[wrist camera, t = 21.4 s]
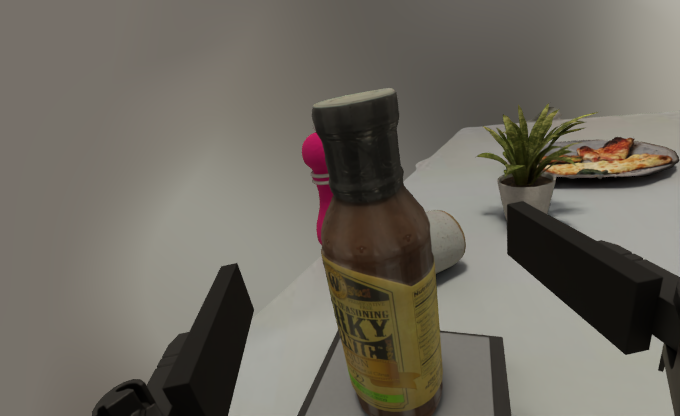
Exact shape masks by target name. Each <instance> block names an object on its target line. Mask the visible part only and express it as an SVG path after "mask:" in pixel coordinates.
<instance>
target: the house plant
mask: <svg viewBox="0 0 680 416" xmlns="http://www.w3.org/2000/svg"><path fill="white" fill-rule="evenodd" d="M548 108H549V107H548V104H547V105H546V107H545V108H544V110H543V111H542V113H541V115H540V117H539V118H538V120H537V121H536V123H535V125H534V126H533V129H532V131H531V133H530V136H529V138H528V129H527V123H526V121H525V118H524V116H523V113H522V109H521V108H520V106H519V105H518V113H519V123H520V128H519V127H518V126H517V125H516V124H515V123H513V122H512V121H511V120H510V119H509V117H508V116H505V115H503V120H504V125H505V129H506V132H502V131H501V130H499V129H498V128H497V130H498V132H499V134H500V136H501V137H502V138H503V139H504V140H503V139H502V138H501V137H500V136H499V135H498V134H497V133H495V132H494V131H493V130H491V129H489V128H486V127H484V126H483V127H484V128H485V129H486V130H488V131H489V132H490V133H491V134H492V136H493V137H494V138H495V140H496V141H497V142H498V143H499V144H500V145H501V146H502V147H503V149H504V150H505V152H503V155H504V157H505V158H506V159H507V160H508V162H509V163H510V164H507V162H506V161H504V160H503V159H502V158H500V157H499V156H496V155H494V154H491V153H482V154H480V155H478V156H477V157H484V158H490V159H494V160H497V161H499V162H501V163H502V164H504V165H505V166H506V169H507V170H504V173H505V175H502V176H501V177H499V178H498V180H497V181H498V186H499V190H500V195H501V200H502V204H503V209H504V213H505V218H506V221H507V204H510V203H515V202H520V201H524V202H526V203H527V204H529V205H531V206H533V207H535V208H537V209H539V210H540V211H542V212H544V213H546V214H547V213H548V209H549V205H550V201H551V197H552V193H553V189H554V185H555V181H556V178H555V176H554V175H552V174H550V173H546V172H545V171H546V170H547V169H549V168H550V167H551V166H553V165H554V164H555V163H557V162H558V161H559V160H562V161H566V162H569V163H572V164H573V165H575V163H574V161H573V160H571V159H573V158H568V157H559V156H561V155H564V154H567V153H571V152H572V151H569V150H568V147H570V146H572V145H574V144H578V143H582V142H578V143H572V144H569V145H567V146H564V147H561V149H560V150H558V151H556V152H554V153H552V154H550V155H549V156H547V157H546V158H545V159H544V160H542V158H543V157H544V156H545V154H546V153H547V152H549V151H551V150H552V149H555V148H560V146H552V145H553V143H554V142H555V141H556V140H557V139H558V138H559V137H560V136H561V135H564V134H567V133H570V132H574V131H578V130H581V129H584V128H580V129H574V130H569V131H567V130H568V129H569V128H571V127H573V126H574V125H577V124H581V123H585V122H584V121H577V120H578V119H581V118H583V117H585V116H588V115H591V114H587V115H584V116H580V117H578V118H575V119H573V120H571V121H569V122H565V123H563V124H564V125H563V124H561V125H563V126H561V125H560V126H561V127H560V128H558V129H557V130H556V131H555V132H554V130H555V129H556V128H557V127H556V128H555V129H553V130H552V131H551V132H550V133H549V134H548V135H547V136H546V138H544V136H545V135H546V133H547V131H548V130H549V128H550V127H551V125H552V120H553V117H554V116H555V115H556V113H557V111H558V110H556V111H554V112H552V113H551V114H549V115H548V116H547V117H546V114H547V111H548ZM592 114H595V113H592ZM573 122H579V123H574V124H571V123H573ZM570 124H571V125H570ZM568 125H569V126H568ZM558 127H559V126H558ZM565 127H566V128H565ZM562 129H563V130H562ZM561 130H562V131H561ZM560 131H561V132H560ZM553 132H554V133H553ZM490 133H489V134H490ZM503 133H506V134H507V139H506V137H505V135H504V134H503ZM552 133H553V134H552ZM551 134H552V135H551ZM543 138H544V139H543ZM552 139H553V140H552ZM550 140H552V142H551V143H550V144H549V146H548V147H547V148H545V149H544V150H542V149H543V147H544V146H545V145H546V144H547V143H548V142H549V141H550ZM505 142H506V143H505ZM565 149H567V150H565ZM541 150H542V151H541ZM540 151H541V152H540ZM574 153H575V152H574ZM576 154H577V153H576ZM541 160H542V161H541ZM552 160H558V161H556V162H554V163H553V164H552V165H550V166H549V167H548V168H547V169H545V170H544V171H543V172H541V171H542V170H543V169H544V168H545V167H546V166H547V165H548V164H549V163H550V162H551V161H552ZM540 161H541V163H540ZM539 163H540V164H539ZM538 164H539V165H538ZM537 166H538V167H537ZM575 166H576V165H575ZM576 168H577V167H576Z"/></svg>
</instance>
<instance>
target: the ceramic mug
mask: <svg viewBox="0 0 680 416" xmlns="http://www.w3.org/2000/svg"><path fill="white" fill-rule="evenodd" d="M425 213H426V214H427V216H428V220H429V222H430V235H431V245H432V247H431V248H432V253H433V255H434V262H435V274H437V273H439V272H441V271H443V270H445V269H447V268H449V267H451V266H453V265H454V264H456V263H457V262H458V261H459V260H460V259H461V258H462V257H463V255H464V253H465V247H466V243H465V237H464V233H463V231H462V229H461V227H460V225H459V223H458V222H457V221H456V220H455V219H454V217H453V216H451V215H450V214H448V213H446V212H444V211H440V210H434V211H427V212H425Z"/></svg>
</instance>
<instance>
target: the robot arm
mask: <svg viewBox="0 0 680 416" xmlns="http://www.w3.org/2000/svg"><path fill="white" fill-rule="evenodd" d="M507 254H508V255H509V256H510V257H512V258H513V259H514V260H515V261H516V262H517V263H519V264H520V265H521V266H522V267H523V268H524V269H526V270H527V271H528V272H529V273H530V274H531V275H533V276H534V277H535V278H536V279H537V280H539V281H540V282H541V283H542V284H543V285H544V286H546V287H547V288H548V289H549V290H550V291H551V292H553V293H554V294H555V295H556V296H557V297H558V298H560V299H561V300H562V301H563V302H564V303H565V304H567V305H568V306H569V307H570V308H571V309H573V310H574V311H575V312H576V313H577V314H578V315H580V316H581V317H582V318H583V319H584V320H585V321H587V322H588V323H589V324H590V325H591V326H592V327H594V328H595V329H596V330H597V331H598V332H599V333H601V334H602V335H603V336H604V337H605V338H606V339H608V340H609V341H610V342H611V343H612V344H614V345H615V346H616V347H617V348H618V349H619V350H621V351H622V352H623V353H624V354H625V355H627V354H632V353H636V352H641V351H645V350H649V347H650V342H651V337H652V334H653V335H654V336H655V337H657V338H658V339H659V340H661V341H662V342H664V345H663V350H662V354H661V359H660V364H659V369H658V370H659V371H662V372H663V370H664V367H665V369H666V374H667V379H668V384H669V389H670V394H671V399H672V404H673V409H674V414H675V416H680V277H678V276H676V275H674V274H673V273H671V272H669V271H667V270H665V269H663V268H661V267H659V266H657V265H655V264H653V263H651V262H649V261H648V260H646V259H645V260H643V258H642V257H640V256H638V255H636V254H632V252H630V251H628V250H626V249H624V248H622V247H621V246H619V245H616V244H612V243H609V242H605V241H602V240H601V241H596V240H594V239H592V238H590V237H588V236H586V235H585V234H583V233H581V232H579V231H577V230H575V229H574V228H572V227H570V226H568V225H566V224H564V223H562V222H561V221H559V220H557V219H555V218H553V217H551V216H550V215H548V214H546V213H544V212H542V211H540V210H539V209H537V208H535V207H533V206H531V205H529V204H527V203H526V202H524V201H520V202H515V203H510V204H507ZM253 312H254V308H253V305H252V303H251V300H250V297H249V294H248V292H247V289H246V286H245V283H244V281H243V278H242V275H241V272H240V270H239V267H238V264H237V263H236V264H231V265H226V266H222V267H221V268H220V270H219V272H218V274H217V276H216V278H215V281H214V283H213V285H212V287H211V289H210V291H209V293H208V295H207V297H206V299H205V301H204V303H203V305H202V307H201V309H200V311H199V313H198V316H197V318H196V319H195V322H194V324H193V326H192V328H191V330H190V332H187V333H182V334H179V335H178V336H177V337H176V338H175V339H174V340H173V341H172V342H171V343H170V344H169V345H168V347H167V349H166V351H165V353H164V354H163V356H162V359H161V360H160V362H159V364H158V366H157V369H155V371H154V373H153V375H152V377H151V378H150V381H149V382H148V384H147V386H146V384H145V383H144V382H143V381H142V380H140V379H133V380H129V381H126V382H124V383H122V384H120V385H118V386H116V387H114V388H113V389H112V390H110V391H109V392H108V393H107V394H105V395H104V396H103V397H102V398H101V399H100V401H99V402H98V403H97V404H96V406H95V408H94V410H93V411H92V416H228V413H229V409H230V405H231V401H232V397H233V393H234V389H235V385H236V381H237V377H238V373H239V368H240V364H241V360H242V356H243V352H244V348H245V344H246V340H247V336H248V332H249V328H250V324H251V320H252V316H253Z"/></svg>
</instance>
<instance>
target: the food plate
mask: <svg viewBox="0 0 680 416" xmlns="http://www.w3.org/2000/svg"><path fill="white" fill-rule="evenodd" d="M578 142H582V143H578ZM550 143H551V142H550ZM550 143H547V144H546V145H545V146H544V147H543V149H542V150H544V149H545V148H547V147H548V146H549V144H550ZM572 143H578V144H574V145H572V146H570V147H568V150H569V151H572V152H571V153H567V154H564V155H561V156H559V157H568V158H573V159H571V160H573V161H574V163H575V165H576V166H575V165H573V164H572V163H569V162H566V161H562V160H559V161H558V160H552V161H551V162H550V163H549V164H548V165H547V166H546V167H545V168H544V169H543V170H542V171H541V172H543V171H544V170H545V169H547V168H548V167H549V166H550V165H552V164H553V163H554V162H556V161H558V162H557V163H555V164H554V165H553V166H551V167H550V168H549V169H547V170H546V171H545V172H546V173H550V174H552V175H554V176H555V177H567V178H572V179H574V178H579V177H580V178H593V177H598V178H599V179H601V178H602V177H610V176H612V177H617V176H621V177H625V176H626V177H627V176H641V175H649V174H654V173H656V172H658V171H662V170H665V169H668V168H671V167H673V166H674V164H676V163H678V162H679V157H678V155H677V153H676V152H675V151H673V150H671V149H669V148H667V147H663V146H658V145H654V144H650V143H645V142H638V141H634V139H633V138H628V139H624V138H622V137H615V138H614V139H612V141H610V140H609V141H608V140H583V141H571V142H570V141H567V142H566V141H565V142H556V143H555V142H554V143H553V145H552V146H560V148H555V149H552V150H551V151H549V152H547V153H546V154H545V156H544V157H543V158H542V160H544V159H545V158H546V157H547V156H549V155H550V154H552V153H554V152H556V151H558V150H560V149H561V147H564V146H567V145H569V144H572ZM542 150H541V151H542ZM565 150H567V149H565ZM541 151H540V152H541ZM574 152H575V153H574ZM576 153H577V154H576ZM542 160H541V161H542ZM541 161H540V163H541ZM540 163H539V164H540ZM507 164H510V163H509V162H508V161H507ZM539 164H538V165H539ZM537 167H538V166H537ZM576 167H577V168H576Z"/></svg>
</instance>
